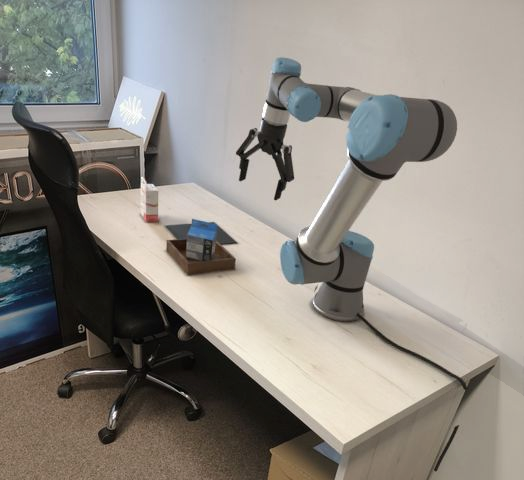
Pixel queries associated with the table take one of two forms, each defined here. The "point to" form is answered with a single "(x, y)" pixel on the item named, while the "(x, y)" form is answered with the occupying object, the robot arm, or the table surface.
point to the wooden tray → (191, 266)
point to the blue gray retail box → (201, 241)
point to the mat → (221, 235)
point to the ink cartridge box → (149, 201)
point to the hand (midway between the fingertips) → (259, 189)
